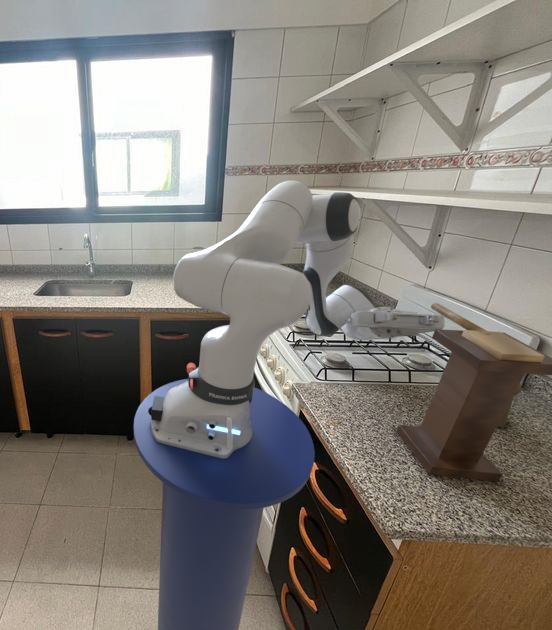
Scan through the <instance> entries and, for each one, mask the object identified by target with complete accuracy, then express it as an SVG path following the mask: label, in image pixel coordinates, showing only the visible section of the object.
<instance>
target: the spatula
mask: <svg viewBox="0 0 552 630" xmlns="http://www.w3.org/2000/svg"><path fill="white" fill-rule="evenodd" d="M430 308H431V310H433V311H434V312H436V313H437V314H440V315H443V316H444V318H446V319H448V320H450V321H451V322H452V323H455V324H456V325H458V326H459V327H462V328H463V330H462V331H463V333H462V336H463V337H465V338H466V339H468V340H469V341H471V342H473V343H474V344H476V345H477V346H479V347H480V348H482V349H484V350H485V351H487V352H488V353H490V354H492V355H493V356H495V357H496V358H498V359H499V360H510V361H526V362H542V361H543V359H544V357H545V356H544V355H542V354H540V353H538V352H536V351H534V350H532V349H531V348H529V347H527V346H525V345H523V344H521V343H520V342H518V341H516V340H514V339H512V338H510V337H508V336H507V335H505V334H503V333H504V332H501V331H491V330H490V331H489V330H487V329H485V328H483V327H481V326H480V325H478V324H476V323H474V322H473V321H470V320H468V318H467V319H466V318H465V317H463V316H461V315H460V314H458V313H456V312H455V311H453V310H451V309H449V308H447V307H445V306H443V305H442V304H440V303H438V302H434V303H431V305H430Z"/></svg>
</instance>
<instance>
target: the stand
mask: <svg viewBox="0 0 552 630" xmlns="http://www.w3.org/2000/svg"><path fill="white" fill-rule="evenodd" d="M463 331H464V330H462V329H461V330H460V329H459V330H458V329H435V331H433V334H432V337H431V338H432V340H434V341H436V342H437V343H438V344H440V345H441V346H443V347H444V348H445V349H447V350H448V351H450V352H451V353H450V355H449V357H448V359H447V362H446V365H445V367H444V369H443V371H442V374H441V376H440V379H439V382H438V384H437V386H436V388H435V391H434V393H433V396H432V398H431V400H430V403H429V405H428V408H427V410H426V413H425V416H424V417H423V420H422V422H421V424H420V426H417V425H406V424H398V426H397V428H396V430H395V431H396V433H397V435H398V436H399V438H401V440H402V441H403V442H404V444H405V445H406V446H407V448H408V449H409V450H410V452H412V454H413V455H414V457H415V458H416V459H417V460H418V462H419V463H420V464H421V465H422V467H423V468H424V470H425V471H426V472H427V473H428V474H429V475H433V476H441V477H452V478H460V479H461V478H462V479H469V480H479V481H488V482H489V481H491V482H500V480H501V479H502V476H503V475H504V474H503V473H502V471H500V469H498V468H497V466H496V465H494V464H493V463H492V462H491V461H490V460H489V459H488V458H487V457H486V456H485V455H484V452H485V450H486V449H487V447H488V445H489V442H490V441H491V438H492V437H493V435H494V433H495V431H496V429H497V427H498V426H497V425H498V424H499V422H500V420H501V418H502V416H503V414H504V412H505V410H506V408H507V407H508V405H509V403H510V401H511V399H512V397H513V395H514V393H515V391H516V390H517V388H518V386H519V384H521V382H522V380H523V378H524V377H525V374H527V375H540V376H541V375H542V376H552V357H550V356H549V355H547V354H545V353H543V352H542V351H540V350H538V349H536V348H534V347H532V346H530V345H528V344H526V343H525V342H522V341H521V340H519V339H517V338H515V337H514V336H511V335H509V334H508V333H506V332H502V333H503V334H505V335H507V336H508V337H510V338H512V339H514V340H516V341H518V342H520V343H521V344H523V345H525V346H527V347H529V348H531V349H532V350H534V351H536V352H538V353H540V354H542V355H544V356H545V357H544V359H543V361H542V362H526V361H510V360H499V359H498V358H496V357H495V356H493V355H492V354H490V353H488V352H487V351H485V350H484V349H482V348H480V347H479V346H477V345H476V344H474V343H473V342H471V341H469V340H468V339H466V338H465V337H463V336H462V333H463ZM513 398H514V397H513Z"/></svg>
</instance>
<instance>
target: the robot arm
mask: <svg viewBox="0 0 552 630" xmlns="http://www.w3.org/2000/svg"><path fill="white" fill-rule="evenodd" d="M361 213H362V212H361V206H360V202H359V200H358V198H357V197H356V196H355V195H353V194H352V193H350V192H343V191H342V192H340V191H338V192H333V193H323V194H322V193H321V194H313V193H312V191H311V189H310V188H309V187H308V186H307V185H306V184H305V183H303V182H301V181H298V180H285V181H282V182H280V183H278V184H276V185H275V186H273V188H272V189H270V190H269V191H268V192H267V193H266V194H265V195H264V196H263V197H262V198H261V199H260V200H259V201H258V202H257V204H256V205H255V207H254V208H253V209H252V211H251V212H250V214H249V215H248V216H247V218H246V219H245V220H244V222H242V224H241V225H240V227H238V228H237V230H236V231H234V233H232V234H230V235H229V236H227V237H226V238H224V239H222V240H221V241H219V242H218V243H216V244H213V245H211V246H209V247H207V248H205V249H203V250H199V251H195V252H191V253H187V254H184V255H183V257H181V259H180V260H179V261H178V263H176V266H175V268H174V271H173V275H172V286H173V290H174V292H175V294H176V296H177V297H178V298H180V299H182V300H184V301H185V302H187V303H189V304H191V305H193V306H195V307H197V308H201V309H204V310H207V311H212V312H216V313H218V314H223V315H226V316H227V317H229V324H227V325H221V326H218V327H215V328H213V329H210V330H209V331H207V332H206V333H205V334H204V336H203V338H202V340H201V342H200V348H199V349H200V352H199V365H198V366H197V367H196V364H195V363H193V362H189V363H188V364H187V365H186V373H187V374H188V378H187V379H188V381H187V382H185V383H182V384H180V385H178V386H176V387H173V388H171V389H170V390H169V391H168V392H167V394H166V396H165V397H159V396H154V401H153V405H152V407H150V408H149V409H148V413H149V414H150V415H151V420H152V421H151V430H152V434H153V436H154V438H155V440H156V441H157V442H159V443H162V444H166V445H170V446H174V447H178V448H182V449H186V450H190V451H194V452H198V453H202V454H206V455H210V456H214V457H218V458H222V459H225V458H228V457H229V456H230V455H231V454H232V452H233V451H235V450H236V449H239V448H241V447H243V446H245V445H246V444H247V443H248V442H249V441H250V440H251V438H252V427H251V421H250V403H251V401H252V397H253V393H254V388H256V387H255V385H256V384H255V383H256V382H255V380H256V379H255V377H254V375H255V374H254V373H255V367H256V363H257V359H258V355H259V352H260V350H261V347H262V345H263V344H264V343H265V341H266V340H267V339H268V338H269V337H270V336H271V335H272V334H275V332H277V331H280V330H281V329H285V328H288V327H291V326H292V325H294V324H295V323H297V322H299V320H301V319H302V317H303V316H304V320H305V321H304V322H305V325H306V326H307V328H308V329H309V330H310V332H312V333H313V334H314V335H316V336H318V337H333V336H334V335H335V334H336V333H337V332H339V330H340V329H341V330H342V332H343V334H344V335H346V336H347V337H348V338H351V339H353V340H357V341H372V340H384V339H393V338H398V337H417V336H419V335H420V334H424V333H425V334H426V333H432V332H434V331H435V329H442V330H444V329H445V326H446V325H445V323H446V322H445V316H443V315H441V314H440V313H437V314H436V313H435V314H433V313H432V314H431V313H418V312H414V311H405V310H400V309H397V308H393V307H389V306H378V307H377V306H376V303H375V302H374V299H373V298H372V296H371V295H370V294H369V292H368V291H366V290H365V289H364V288H362V287H360V286H357V285H353V284H342V285H341V286H340V287H338V288H337V289H336V290H334V291H333V292H332V293H330V294H329V295H328V296H327V293H326V291H327V288H328V286H329V284H330V283H331V281H332V280H334V277H335V276H337V274H338V273H339V272H340V271H341V270H342V269H343V268H344V267H345V266H346V264H347V263H348V262H349V261H350V259H351V258H352V256H353V253H354V249H355V240H354V239H355V238H354V233H355V232H357V230H358V226H359V224H360V221H361V215H362V214H361ZM300 244H301V245H305V249H306V255H305V256H306V258H305V264H304V267H303V270H302V272H301V271H298V270H296V269H294V268H291V267H288V266H285V265H282V263H284V261H286V260H287V259H288V258H289V256H290V255H291V253H292V251H293V250H294V247H295V246H296V245H300ZM151 411H152V412H151Z"/></svg>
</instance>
